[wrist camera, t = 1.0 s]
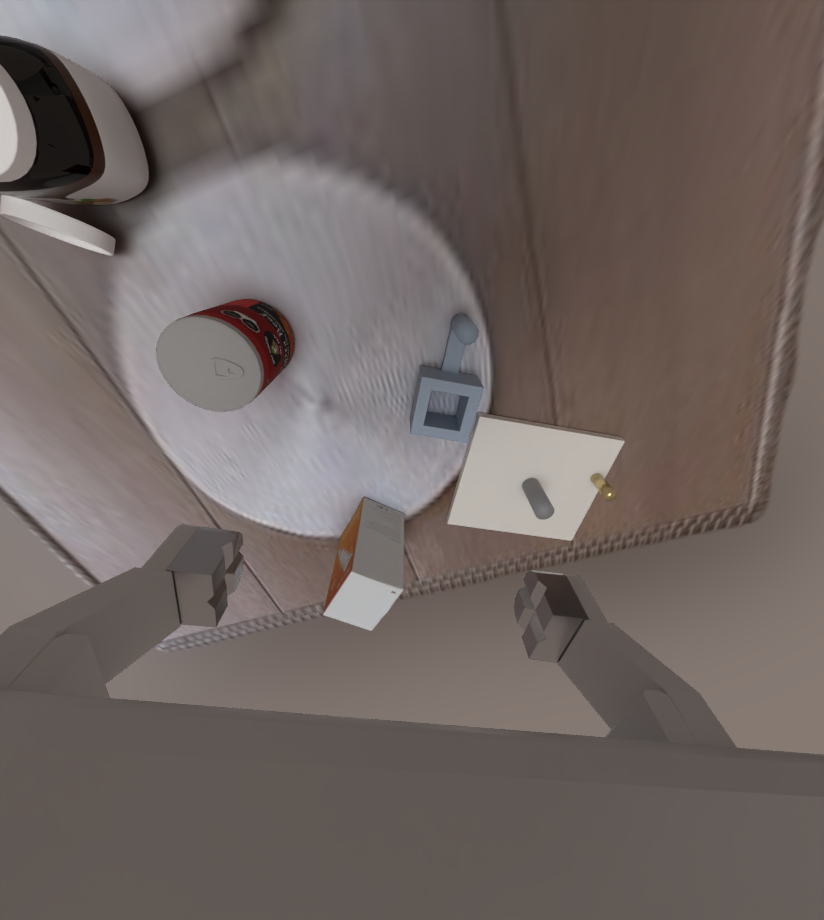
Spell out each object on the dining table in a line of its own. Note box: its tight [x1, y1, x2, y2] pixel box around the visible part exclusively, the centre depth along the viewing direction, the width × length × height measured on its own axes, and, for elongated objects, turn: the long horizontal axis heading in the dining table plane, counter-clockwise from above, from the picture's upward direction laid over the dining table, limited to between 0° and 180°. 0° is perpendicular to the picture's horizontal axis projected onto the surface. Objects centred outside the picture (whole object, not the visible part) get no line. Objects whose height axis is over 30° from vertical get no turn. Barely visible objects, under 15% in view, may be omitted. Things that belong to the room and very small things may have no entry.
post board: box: [447, 412, 625, 541], centre depth 45 cm, size 16×18×7 cm
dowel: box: [590, 473, 617, 501], centre depth 45 cm, size 1×1×4 cm
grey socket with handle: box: [410, 313, 484, 443], centre depth 38 cm, size 12×6×5 cm, turn 169°
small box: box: [323, 497, 405, 631], centre depth 46 cm, size 8×6×13 cm
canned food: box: [156, 299, 294, 412], centre depth 33 cm, size 8×8×11 cm
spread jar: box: [0, 36, 149, 256], centre depth 26 cm, size 12×11×12 cm
